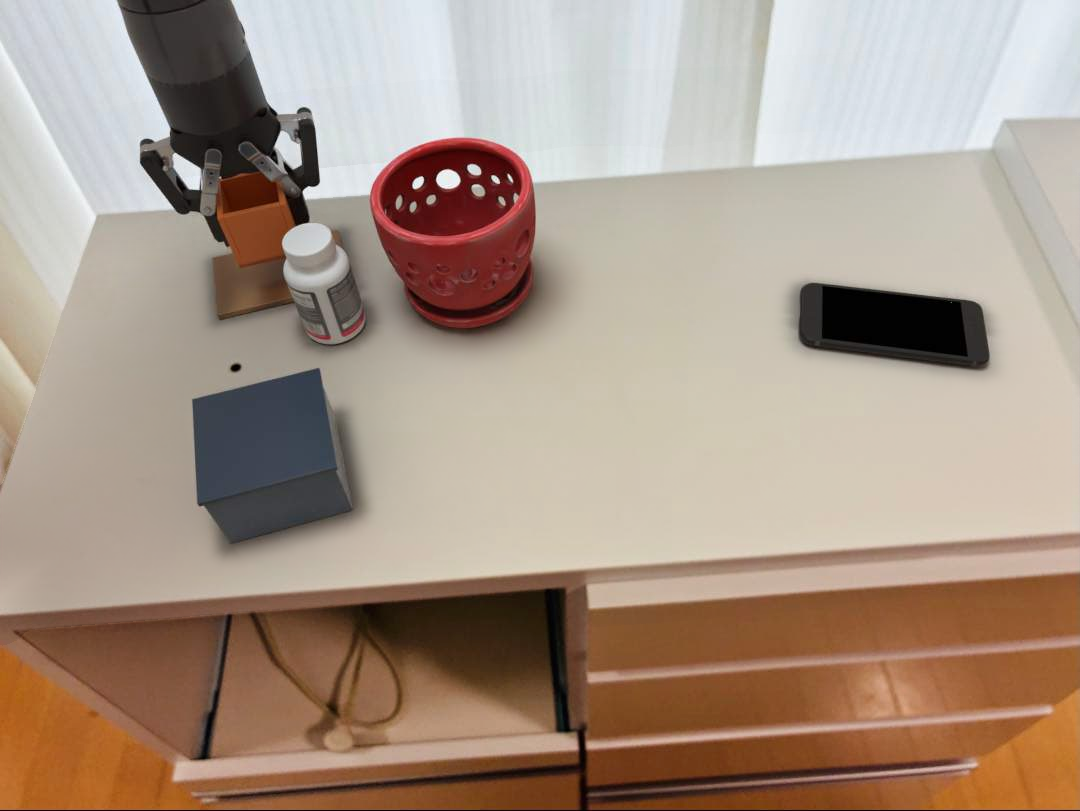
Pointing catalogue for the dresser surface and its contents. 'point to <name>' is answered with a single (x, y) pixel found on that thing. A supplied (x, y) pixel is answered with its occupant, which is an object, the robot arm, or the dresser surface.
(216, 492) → the blue tin
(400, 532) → the dresser surface
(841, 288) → the smartphone
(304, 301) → the pill bottle
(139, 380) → the dresser surface
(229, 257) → the cork mat
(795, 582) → the dresser surface
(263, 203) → the orange tub
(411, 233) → the flower pot
